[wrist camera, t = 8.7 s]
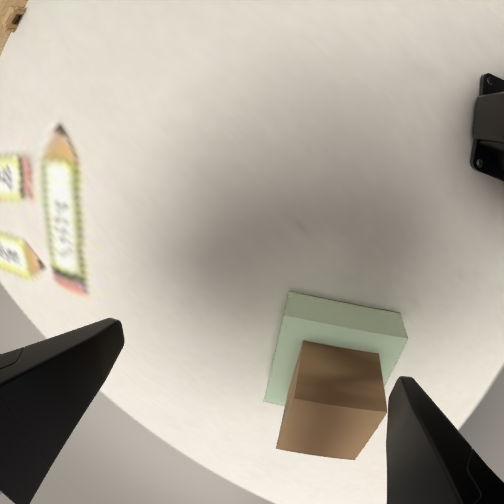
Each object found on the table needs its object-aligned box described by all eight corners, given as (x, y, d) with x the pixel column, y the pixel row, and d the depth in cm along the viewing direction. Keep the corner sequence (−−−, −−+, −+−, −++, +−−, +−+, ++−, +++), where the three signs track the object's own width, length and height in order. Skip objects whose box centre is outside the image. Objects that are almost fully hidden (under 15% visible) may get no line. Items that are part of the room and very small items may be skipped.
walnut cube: (379, 353, 18) (387, 412, 14) (354, 404, 20) (354, 459, 15) (303, 340, 19) (293, 398, 14) (287, 393, 21) (275, 448, 16)
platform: (399, 313, 20) (408, 338, 17) (364, 392, 23) (365, 418, 20) (289, 291, 21) (283, 315, 18) (270, 375, 24) (263, 401, 22)
